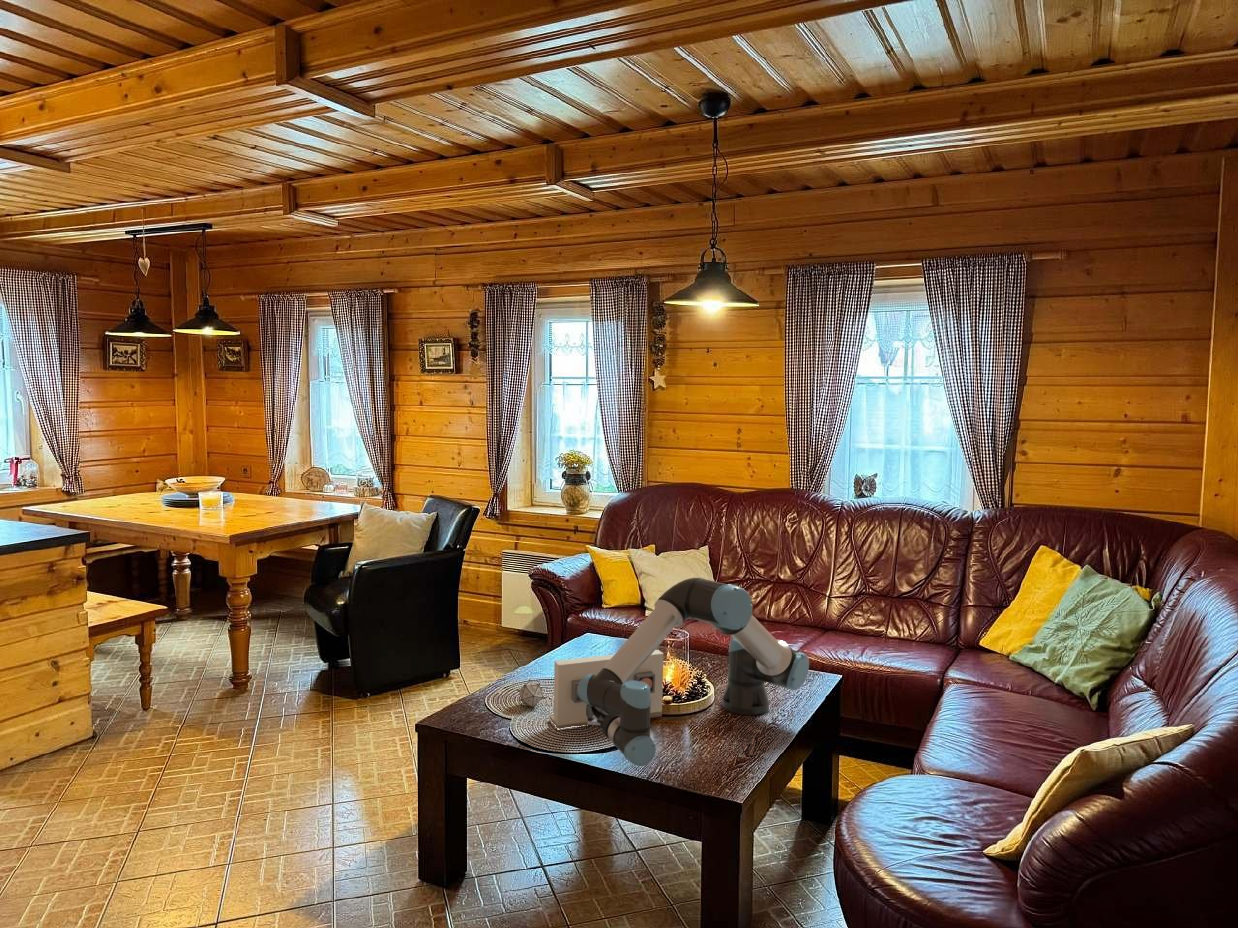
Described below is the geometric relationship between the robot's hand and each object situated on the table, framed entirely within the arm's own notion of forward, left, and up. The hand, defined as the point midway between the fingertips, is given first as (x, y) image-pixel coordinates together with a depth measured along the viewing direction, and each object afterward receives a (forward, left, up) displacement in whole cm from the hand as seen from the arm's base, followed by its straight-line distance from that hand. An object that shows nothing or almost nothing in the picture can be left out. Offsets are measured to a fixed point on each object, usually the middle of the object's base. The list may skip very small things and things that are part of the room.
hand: (588, 698), depth 242 cm
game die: (-14, -27, -12) cm, 32 cm away
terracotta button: (-18, +10, -2) cm, 21 cm away
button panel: (-14, 0, -12) cm, 18 cm away
